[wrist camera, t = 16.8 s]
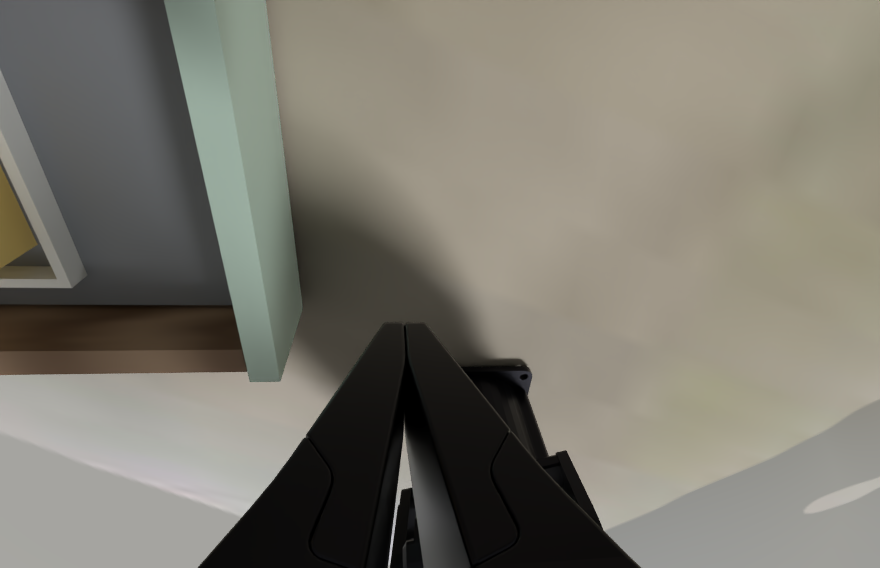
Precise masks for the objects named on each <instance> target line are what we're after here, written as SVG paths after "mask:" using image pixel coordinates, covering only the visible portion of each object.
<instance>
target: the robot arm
mask: <svg viewBox="0 0 880 568" xmlns="http://www.w3.org/2000/svg"><path fill="white" fill-rule="evenodd" d="M522 374H525V375H522ZM531 379H532V373H531V371H530V369H529V368H528V367H526V366H502V367H460V366H459V364H458V363H457V362H456V361H455V359H454V358H453V357H452V356H451V354H450V353H449V352H448V351H447V349H446V348H445V347H444V346H443V345H442V343H441V342H440V341H439V340H438V338H437V337H436V336H435V335H434V333H433V332H432V331H431V330H430V328H429V327H428V326H427V325H426V324H425V323H423V322H408V323H406V324H405V326H404V324H403V323H401V322H386V323H384V324H383V325H382V326H381V328H380V329H379V331H378V332H377V334H376V335H375V336H374V338H373V339H372V341H371V342H370V344H369V345H368V347H367V348H366V349H365V351H364V352H363V354H362V355H361V357H360V358H359V360H358V361H357V362H356V364H355V365H354V367H353V368H352V370H351V371H350V372H349V374H348V375H347V377H346V378H345V380H344V381H343V383H342V384H341V385H340V387H339V388H338V390H337V391H336V393H335V394H334V396H333V397H332V398H331V400H330V401H329V403H328V404H327V406H326V407H325V408H324V410H323V411H322V413H321V414H320V416H319V417H318V419H317V420H316V421H315V423H314V424H313V426H312V427H311V429H310V430H309V432H308V433H307V434H306V438H304V439H303V440H302V441H301V443H300V444H299V446H298V447H297V448H296V450H295V451H294V453H293V454H292V456H291V457H290V458H289V460H288V461H287V462H286V464H285V465H284V466H283V468H282V469H281V470H280V472H279V473H278V474H277V476H276V477H275V479H274V480H273V481H272V482H271V484H270V485H269V486H268V487H267V488H266V490H265V491H264V492H263V493H262V494H261V495H260V497H259V498H258V499H257V500H256V501H255V503H254V504H253V505H252V506H251V507H250V509H249V510H248V511H247V512H246V513H245V514H244V515H243V517H242V518H241V519H240V520H239V521H238V523H236V525H235V526H234V527H233V528H232V529H231V530H230V531H229V533H228V534H227V535H226V536H225V537H224V538H223V539H222V541H221V542H220V543H219V544H218V545H217V546H216V547H215V549H214V550H213V551H212V552H211V553H210V554H209V555H208V556H207V558H206V559H205V560H204V561H203V562H202V564H200V566H199V567H198V568H388V560H389V552H390V543H391V535H392V527H393V518H394V510H395V501H396V493H397V485H398V476H399V468H400V459H401V451H402V443H403V432H404V426H405V437H406V445H407V453H408V460H409V467H410V474H411V481H412V488H408V489H403V490H402V491H401V498H400V505H398V510H397V518H396V525H395V533H394V541H393V549H392V556H391V564H390V568H641V567H640V566H639V565H638V564H637V563H636V562H635V561H633V560H632V559H631V558H630V557H629V556H628V555H627V554H626V553H625V552H624V551H623V550H622V549H621V548H620V547H619V546H618V545H617V544H616V543H615V542H614V541H613V540H612V539H611V538H610V537H609V536H608V535H607V534H606V533H605V532H604V531H603V528H602V525H601V523H600V521H599V518H598V516H597V514H596V511H595V509H594V507H593V505H592V503H591V501H590V499H589V497H588V495H587V493H586V490H585V488H584V486H583V484H582V482H581V480H580V478H579V476H578V474H577V472H576V470H575V468H574V466H573V464H572V461H571V459H570V457H569V455H568V453H567V451H566V450H565V451H561V452H557V453H556V455H552V456H549V455H548V453H547V450H546V447H545V444H544V441H543V438H542V436H541V433H540V430H539V427H538V424H537V421H536V418H535V416H534V413H533V410H532V407H531V404H530V401H529V399H528V396H527V395H528V391H529V387H530V383H531Z"/></svg>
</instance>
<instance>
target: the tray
mask: <svg viewBox="0 0 880 568" xmlns="http://www.w3.org/2000/svg"><path fill="white" fill-rule="evenodd" d="M0 165H1V168H2V170H3V172H4V174H5V176H6V178H7V180H8V182H9V185H10V187H11V189H12V191H13V193H14V195H15V197H16V199H17V202H18V204H19V206H20V208H21V210H22V212H23V214H24V216H25V219H26V221H27V223H28V225H29V227H30V229H31V231H32V234H33V236H34V238H35V240H36V242H37V244H38V245H36V246H35V247H33V248H32V249H30V250H28V251H27V252H25V253H24V254H22V255H21V256H19V257H18V258H16V259H14V260H13V261H11V262H10V263H8V264H7V265H5V266H4V267H2V268H1V269H0V304H25V305H233V309H234V314H235V318H236V323H237V327H238V332H239V336H240V340H241V345H242V349H243V354H244V358H245V363H246V367H247V371H248V376H249V380H250V382H279V381H281V378H282V374H283V371H284V368H285V365H286V362H287V358H288V355H289V352H290V349H291V345H292V342H293V339H294V336H295V332H296V329H297V326H298V323H299V319H300V316H301V313H302V310H303V305H302V297H301V289H300V280H299V272H298V264H297V256H296V247H295V239H294V231H293V223H292V214H291V206H290V198H289V190H288V181H287V173H286V165H285V157H284V148H283V140H282V132H281V124H280V115H279V107H278V99H277V90H276V82H275V74H274V66H273V57H272V49H271V41H270V33H269V24H268V16H267V8H266V0H0Z"/></svg>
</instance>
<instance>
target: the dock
mask: <svg viewBox="0 0 880 568" xmlns="http://www.w3.org/2000/svg"><path fill="white" fill-rule="evenodd" d="M185 372H247V367H246V363H245V358H244V354H243V349H242V345H241V340H240V336H239V332H238V327H237V323H236V318H235V314H234V309H233V305H25V304H0V375H29V374H107V373H185Z"/></svg>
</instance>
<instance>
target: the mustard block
mask: <svg viewBox="0 0 880 568" xmlns="http://www.w3.org/2000/svg"><path fill="white" fill-rule="evenodd" d="M36 245H38V244H37V242H36V240H35V238H34V236H33V234H32V231H31V229H30V227H29V225H28V223H27V221H26V219H25V216H24V214H23V212H22V210H21V208H20V206H19V204H18V202H17V199H16V197H15V195H14V193H13V191H12V189H11V187H10V185H9V182H8V180H7V178H6V176H5V174H4V172H3V170H2V168H1V165H0V269H1V268H2V267H4V266H5V265H7V264H8V263H10V262H11V261H13V260H14V259H16V258H18V257H19V256H21V255H22V254H24V253H25V252H27V251H28V250H30V249H32V248H33V247H35V246H36Z"/></svg>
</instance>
